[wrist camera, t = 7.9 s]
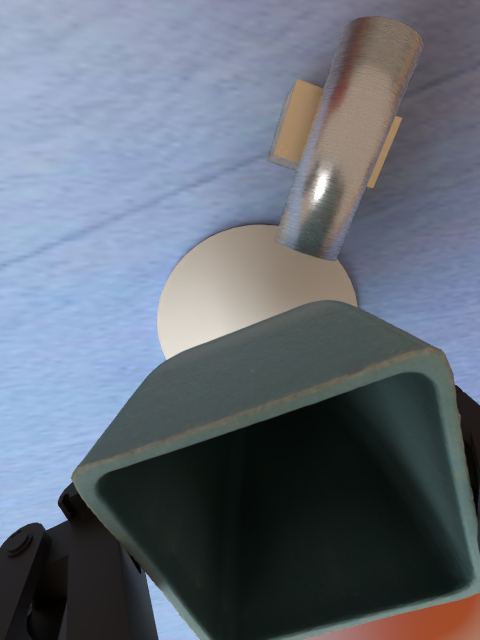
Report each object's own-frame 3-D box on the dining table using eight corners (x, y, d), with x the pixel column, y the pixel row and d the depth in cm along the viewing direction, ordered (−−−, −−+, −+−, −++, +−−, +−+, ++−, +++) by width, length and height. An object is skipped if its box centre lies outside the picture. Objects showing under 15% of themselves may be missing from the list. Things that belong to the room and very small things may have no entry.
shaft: (327, 248, 19) (366, 272, 14) (248, 224, 18) (255, 239, 13) (387, 97, 16) (467, 49, 11) (296, 63, 16) (330, -8, 10)
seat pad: (117, 324, 21) (115, 326, 20) (265, 173, 17) (266, 173, 17) (251, 435, 24) (252, 439, 24) (394, 328, 21) (396, 330, 21)
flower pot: (326, 254, 14) (453, 342, 6) (371, 403, 17) (497, 597, 9) (153, 323, 15) (57, 478, 7) (225, 451, 19) (216, 662, 10)
